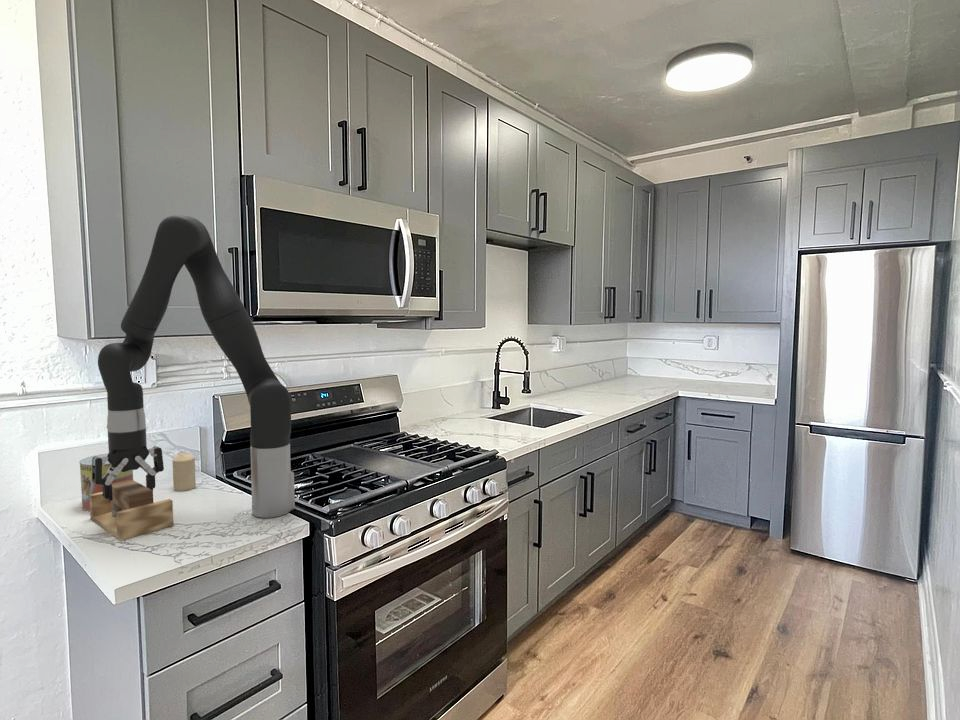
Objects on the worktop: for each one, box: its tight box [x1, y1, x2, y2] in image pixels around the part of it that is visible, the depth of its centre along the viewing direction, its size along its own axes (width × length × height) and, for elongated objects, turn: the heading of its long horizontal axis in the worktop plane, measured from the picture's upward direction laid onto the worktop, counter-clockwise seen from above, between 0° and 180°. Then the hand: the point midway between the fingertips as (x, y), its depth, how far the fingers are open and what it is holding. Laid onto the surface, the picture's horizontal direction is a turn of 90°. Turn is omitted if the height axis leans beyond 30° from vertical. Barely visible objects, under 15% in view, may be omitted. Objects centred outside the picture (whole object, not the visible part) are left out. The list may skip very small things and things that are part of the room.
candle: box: [172, 452, 197, 492], centre depth 153 cm, size 6×6×10 cm
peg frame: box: [89, 483, 174, 541], centre depth 129 cm, size 11×19×6 cm, turn 52°
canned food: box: [78, 453, 134, 513], centre depth 140 cm, size 11×11×12 cm
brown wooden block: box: [110, 479, 154, 510], centre depth 129 cm, size 13×5×4 cm, turn 52°
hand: (130, 495), depth 129 cm, fingers open, 8 cm apart
